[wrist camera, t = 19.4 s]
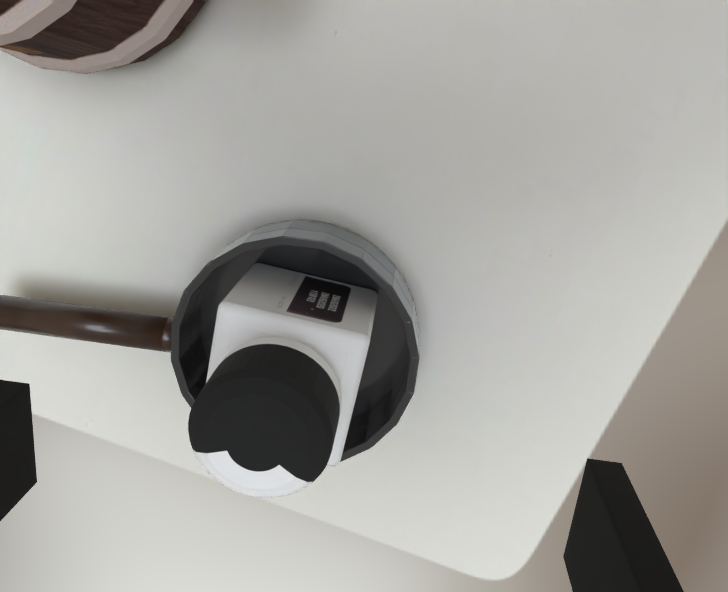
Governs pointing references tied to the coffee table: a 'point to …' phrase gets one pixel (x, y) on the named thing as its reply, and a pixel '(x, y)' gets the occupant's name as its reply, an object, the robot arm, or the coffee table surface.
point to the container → (281, 380)
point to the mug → (91, 31)
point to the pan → (325, 260)
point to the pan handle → (85, 323)
